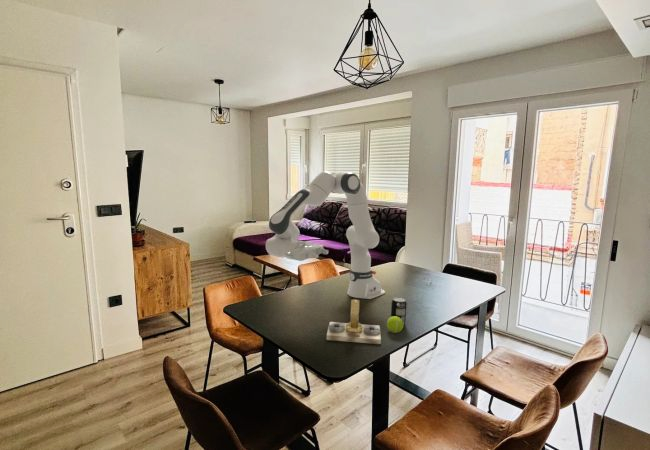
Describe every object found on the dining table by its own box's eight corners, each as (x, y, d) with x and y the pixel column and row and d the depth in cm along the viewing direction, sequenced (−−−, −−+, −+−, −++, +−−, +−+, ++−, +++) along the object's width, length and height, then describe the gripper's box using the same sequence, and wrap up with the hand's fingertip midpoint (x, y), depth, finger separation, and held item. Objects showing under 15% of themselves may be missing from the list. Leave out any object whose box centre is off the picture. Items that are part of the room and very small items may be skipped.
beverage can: (394, 320, 161) (396, 295, 160) (407, 324, 157) (409, 299, 155) (387, 324, 156) (389, 299, 154) (400, 328, 152) (402, 303, 150)
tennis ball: (383, 331, 149) (384, 316, 148) (392, 327, 154) (393, 312, 153) (396, 337, 144) (397, 321, 143) (405, 332, 149) (406, 317, 148)
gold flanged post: (355, 325, 150) (356, 296, 148) (365, 331, 144) (367, 302, 142) (342, 328, 146) (343, 299, 144) (352, 335, 140) (353, 305, 138)
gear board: (379, 329, 150) (379, 321, 150) (380, 344, 138) (381, 335, 137) (329, 326, 153) (329, 318, 152) (326, 339, 140) (326, 331, 139)
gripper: (283, 247, 148) (311, 251, 142) (307, 240, 166) (333, 243, 160) (283, 261, 149) (310, 266, 143) (307, 252, 167) (332, 256, 161)
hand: (322, 254), depth 152 cm, fingers open, 8 cm apart
